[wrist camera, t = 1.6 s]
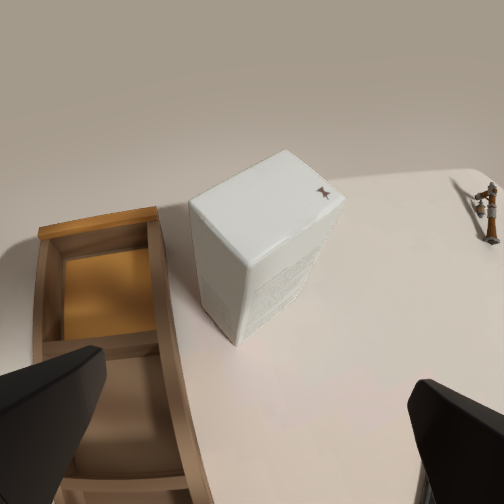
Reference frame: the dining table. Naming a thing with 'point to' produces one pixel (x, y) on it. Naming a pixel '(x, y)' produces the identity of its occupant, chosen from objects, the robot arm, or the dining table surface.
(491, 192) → the wooden post with brackets
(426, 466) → the robot arm
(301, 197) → the skincare box
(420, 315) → the dining table surface
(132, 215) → the wooden crate
